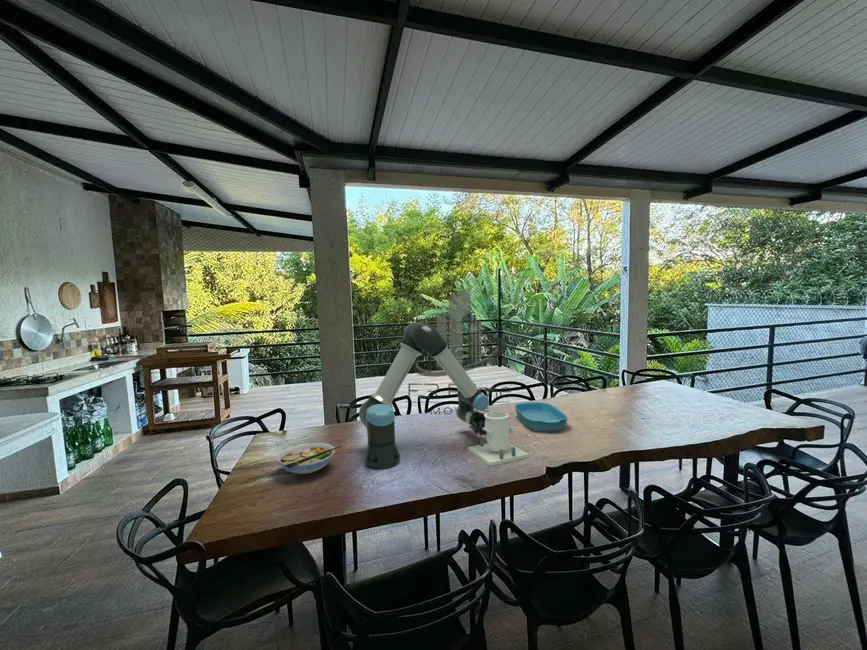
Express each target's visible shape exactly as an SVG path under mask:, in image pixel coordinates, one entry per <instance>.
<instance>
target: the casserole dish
mask: <svg viewBox="0 0 867 650" xmlns="http://www.w3.org/2000/svg"><path fill="white" fill-rule="evenodd" d="M514 409H515V412H516V415H517V417H518V418H519V419H520V421H522V423H523V424H524V425H525V426H526V427H527V428H528V429H530V430H531V431H533V432H540V433H541V432H555V431H556V430H557V431H561V430H563V429H564V428H565V426H566V425H567V421H568V419H569V417H568V415H567V414H566V413H564V412H563V411H561V410H560V409H559V408H557V407H556V406H555V405H553V404H551V403H548V402H538V401H524V402H520V403H516V404H514ZM557 431H556V432H557Z"/></svg>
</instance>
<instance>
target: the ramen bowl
mask: <svg viewBox="0 0 867 650" xmlns="http://www.w3.org/2000/svg"><path fill="white" fill-rule="evenodd" d="M341 447H342V445H341V446H340V445H339V446H336V447H335V446H334V445H331V444H330V443H325V442H312V443H303V444H298V445H296V446H292V447H289V448H287V449H284V450H283V451H281V452H280V453H279V454H278V455H277V458H276V460H277V462H278V464H280V465H281V467H283V469H284V470H286V471H287V472H289V473H292V474H297V475H298V474H299V475H309V474H310V475H311V474H313V473H314V472H317V471H319V470H322V469H323V468H324V467H326V466H327V465H328V464H329V463H330V461H331V460H332V458H333V457H334V456H335V455H334V454H335V453H336V450H337V449H339V448H341Z"/></svg>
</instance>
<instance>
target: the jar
mask: <svg viewBox="0 0 867 650" xmlns="http://www.w3.org/2000/svg"><path fill="white" fill-rule="evenodd" d="M483 414H484V417H485V418H486V420H485V427H484V428H485V429H487V430H489V431H491V432H492V439H490V438H488V437H487V436H485V439H486V441H487V442H486V443H488V444H489V445H488V449H489V450H491V451H496V452H499V450H500V449H502V450H503V451H505V450H506V449H507V446H506V444H507V442H508V441H509V436H510V433H509V426H510V422H509V418H510V415H509V414H508V413H506V412H504V411H489V412H485V413H483ZM508 443H509V442H508Z"/></svg>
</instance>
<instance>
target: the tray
mask: <svg viewBox="0 0 867 650" xmlns="http://www.w3.org/2000/svg"><path fill="white" fill-rule="evenodd" d="M484 442H485V439H484V437H481V436H480V438H479V444H476V445H471V446H468V447H467V451H468V452H470V453H471V454H473V456H475V457H477V458H478V459H479V460H481V461H482V462H483V463H485V464H486V465H487V466H488V467H494V466H497V465H501V464H505V463H510V462H511V463H512V462H515V461H519V460H524V459H529V453H528V452H525V451H523V450H522V449H521V448H519V447H516V446H515V445H513V444H511V443H509V442H507V444H506V446H507V449H506V450H505V451H503V450H502V449H500V450H499V452H496V451H491V450H489V449H488V445H489V444H488V442H486V443H484Z"/></svg>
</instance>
